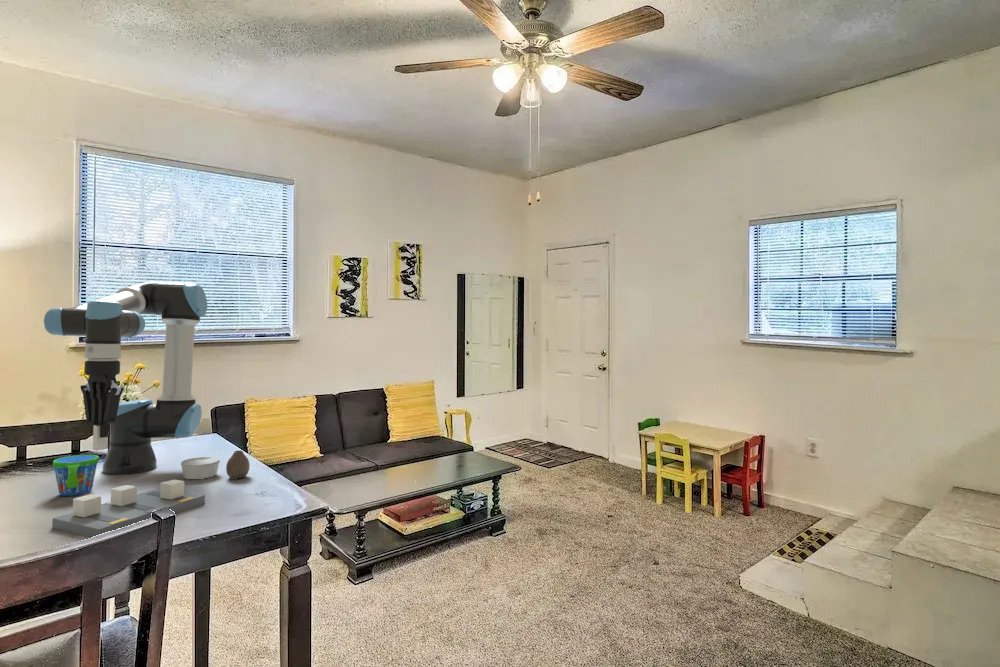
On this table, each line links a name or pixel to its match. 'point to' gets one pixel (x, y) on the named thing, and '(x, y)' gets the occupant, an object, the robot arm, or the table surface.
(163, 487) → the knob far
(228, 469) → the vase
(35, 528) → the table surface
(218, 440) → the table surface
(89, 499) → the knob near
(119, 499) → the knob mid
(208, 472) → the ramekin
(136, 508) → the switch panel
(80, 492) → the snack cup
